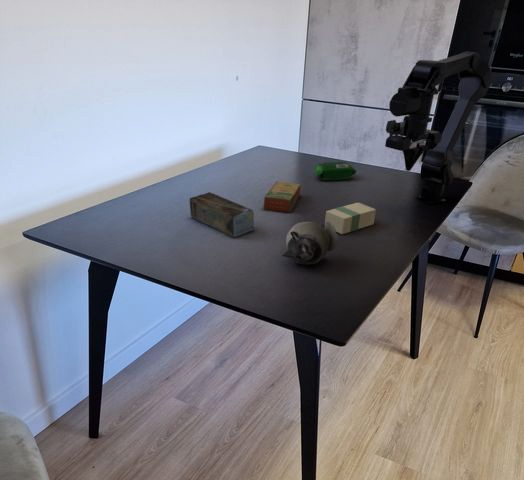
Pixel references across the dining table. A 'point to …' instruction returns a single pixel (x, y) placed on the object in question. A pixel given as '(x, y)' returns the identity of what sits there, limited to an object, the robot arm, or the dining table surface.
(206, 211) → the beverage carton
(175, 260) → the dining table surface
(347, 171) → the snack package
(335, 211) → the tea box
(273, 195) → the carton
